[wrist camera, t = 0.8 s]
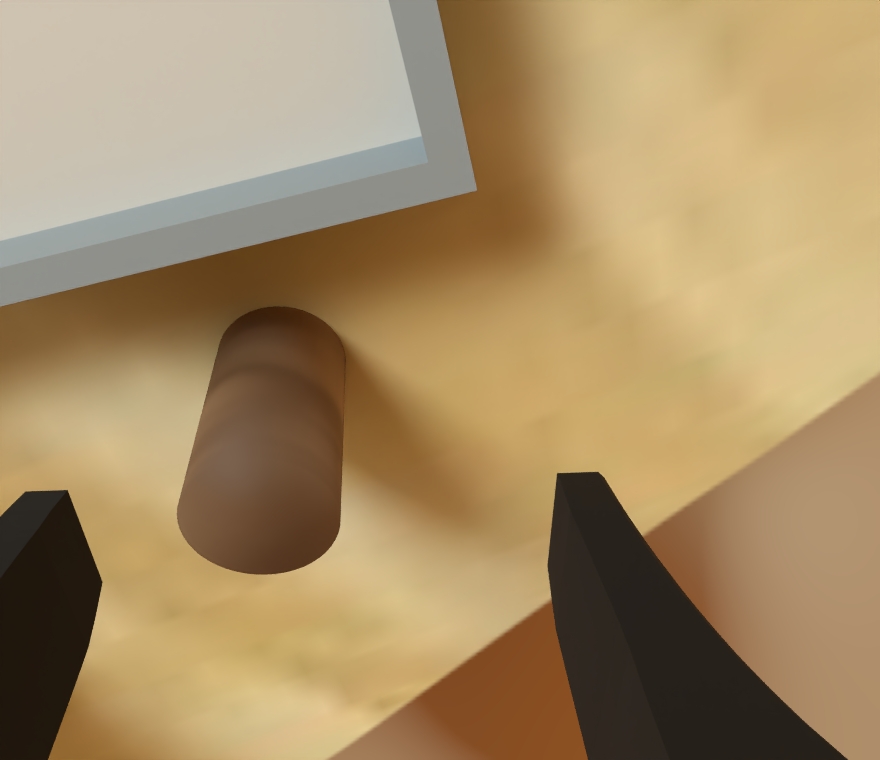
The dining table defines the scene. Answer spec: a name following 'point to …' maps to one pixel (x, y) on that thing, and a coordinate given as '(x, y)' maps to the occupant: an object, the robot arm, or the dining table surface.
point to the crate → (211, 128)
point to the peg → (268, 446)
